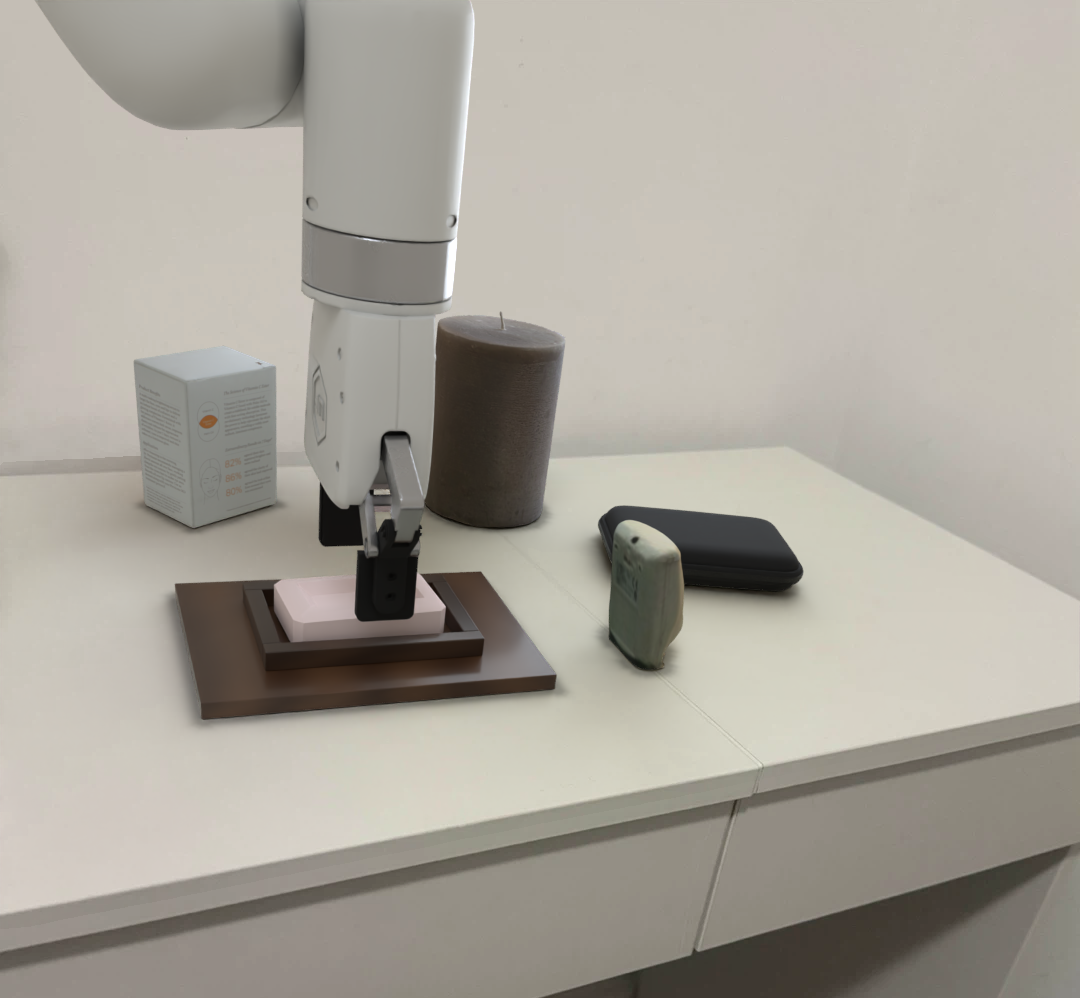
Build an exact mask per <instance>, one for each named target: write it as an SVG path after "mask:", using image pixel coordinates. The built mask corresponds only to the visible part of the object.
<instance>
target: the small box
mask: <svg viewBox="0 0 1080 998" xmlns="http://www.w3.org/2000/svg"><path fill="white" fill-rule="evenodd" d="M133 373H134V374H133V375H134V386H135V399H136V412H137V413H136V414H137V425H138V440H139V452H140V465H141V479H142V490H143V491H142V492H143V502H144V505H145V506H146V507H148V508H151V509H153V510H155V511H157V512H160V513H161V514H164V515H165V516H167V517H169V518H171V519H173V520H176V521H178V522H179V523H182V524H183V525H186V526H187V527H190V528H192V529H196V528H199V527H202V526H206V525H209V524H212V523H216V522H218V521H223V520H226V519H230V518H233V517H236V516H240V515H242V514H245V513H250V512H252V511H255V510H259V509H262V508H266V507H268V506H269V507H270V506H272V505H275V504H276V503H277V501H278V482H277V481H278V480H277V479H278V475H277V473H278V471H277V469H278V467H277V465H278V463H277V462H278V461H277V460H278V459H277V458H278V457H277V456H278V455H277V437H278V436H277V365H275V364H273V363H271V362H268V361H265V360H262V359H260V358H257V357H255V356H252V355H251V354H247V353H244V352H242V351H240V350H237V349H234V348H232V347H228V346H226V345H220V346H219V345H218V346H213V347H207V348H200V349H193V350H187V351H179V352H175V353H173V352H172V353H169V354H168V353H167V354H160V355H156V356H148V357H141V358H136V359H134V360H133Z"/></svg>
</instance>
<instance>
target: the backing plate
mask: <svg viewBox="0 0 1080 998" xmlns="http://www.w3.org/2000/svg"><path fill="white" fill-rule="evenodd" d="M419 574H420V575H421V576H422V577H423V578H424V580H425V581H426V582H427V584H428V585H429V586H430V587H431V589H432V590H433V591H434V592H435V594H436V595H437V596H438V597H439V599H440V600H441V601H442V603H443V604H444V605H445V606H446V610H445V620H444V631H443V633H435V634H418V635H402V636H386V637H370V638H354V639H337V640H321V641H305V642H290V640H289V638H288V636H287V635H286V633H285V631H284V629H283V627H282V625H281V623H280V621H279V619H278V617H277V615H276V614H275V612H274V584H276V583H277V582H279V581H280V580H282V579H283V578H279V579H277V578H275V579H254V580H253V579H252V580H232V581H231V580H229V581H228V580H226V581H202V582H201V581H200V582H179V583H177V582H175V583H174V597H175V602H176V607H177V612H178V616H179V621H180V626H181V630H182V635H183V640H184V644H185V648H186V653H187V658H188V662H189V667H190V673H191V676H192V681H193V687H194V691H195V696H196V700H197V705H198V709H199V714H200V718H201V720H207V719H220V718H233V717H242V716H243V717H244V716H255V715H267V714H279V713H289V712H290V713H291V712H302V711H303V712H304V711H313V710H325V709H336V708H337V709H338V708H346V707H347V708H348V707H358V706H359V707H360V706H371V705H384V704H395V703H407V702H418V701H419V702H420V701H430V700H441V699H452V698H453V699H455V698H464V697H476V696H478V697H479V696H488V695H500V694H501V695H502V694H511V693H523V692H535V691H546V690H547V691H548V690H554V689H555V688H556V682H557V676H558V675H557V673H556V672H555V671H554V669H553V668H552V666H551V665H550V663H549V662H548V661H547V659H546V658H545V657H544V655H543V654H542V653H541V651H540V650H539V649H538V647H537V646H536V644H535V643H534V642H533V640H532V639H531V637H530V636H529V635H528V634H527V632H526V630H524V628H523V627H522V625H521V624H520V622H519V621H518V620H517V618H516V617H515V615H514V614H513V613H512V612H511V610H510V609H509V608H508V606H507V605H506V603H505V602H504V601H503V599H502V598H501V596H500V595H499V594H498V592H497V590H495V588H494V587H493V586H492V584H491V583H490V581H489V580H488V579H487V578H486V576H485V575H484V573H483V572H482V571H458V572H457V571H455V572H454V571H453V572H432V573H430V572H428V573H419Z"/></svg>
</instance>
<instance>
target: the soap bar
mask: <svg viewBox="0 0 1080 998" xmlns="http://www.w3.org/2000/svg"><path fill="white" fill-rule="evenodd" d="M420 574H421V573H419V572H417V581H416V593H415V606H414V615H413V616H412V617H411V618H410V619H405V620H387V621H369V622H361V621H359V620H358V619H357V617H356V615H355V589H356V573H355V574H340V575H325V576H312V577H297V578H281V579H282V580H280V581H279V582H277V583H276V584H274V612H275V614H276V615H277V617H278V619H279V621H280V623H281V625H282V627H283V629H284V631H285V633H286V635H287V636H288V638H289V640H290V642H305V641H321V640H337V639H354V638H370V637H386V636H402V635H418V634H435V633H443V631H444V620H445V610H446V606H445V605H444V604H443V603H442V601H441V600H440V599H439V597H438V596H437V595H436V594H435V592H434V591H433V590H432V589H431V587H430V586H429V585H428V584H427V582H426V581H425V580H424V578H423V577H422V576H421V575H420Z"/></svg>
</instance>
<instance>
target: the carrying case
mask: <svg viewBox="0 0 1080 998" xmlns="http://www.w3.org/2000/svg"><path fill="white" fill-rule="evenodd" d="M625 520H634V521H638V522H641V523H643V524H646V525H648V526H650V527H652V528H654V529H656V530H658V531H659V532H661V533H663V534H664V535H665V536H667V537H668V538H669V539H670V540H671V541H672V542H673V543H674V544H675V545H676V546H677V548H678V549H679V551H680V554H681V565H682V572H683V580H684V585H688V586H698V587H699V586H701V587H711V588H724V589H738V590H750V591H762V592H763V591H764V592H782V591H786V590H788V589H790V588H791V587H792V586H794V585H796V584H798V583H799V582H800V581H801V580H802V578H803V576H804V567H803V565H802V563H801V562H800V560H799V559H798V557H797V555H796V554H795V553H794V551H793V550H792V548H791V547H790V546H789V543H787V541H786V540H785V539H784V537H783V535H782V534H781V533H780V531H779V530H778V528H777V527H776V526H775V525H774V524H773V522H770V521H769V520H766V519H764V518H760V517H754V516H747V515H745V516H744V515H736V514H735V515H734V514H725V513H715V512H705V511H694V510H683V509H671V508H663V507H651V506H648V507H647V506H638V505H615V506H613V507H611V508H610V509H609V510H607V512H605V513H604V514H602V515H601V516H600V518H598V522H597V528H598V530H599V533H600V537H601V540H602V542H603V545H604V548H605V551H606V554H607V556H608V560H609V561H610V563H611V564H612V552H613V540H614V532H615V529H616V527H617V526H618V524H619V523H621V522H623V521H625Z"/></svg>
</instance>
